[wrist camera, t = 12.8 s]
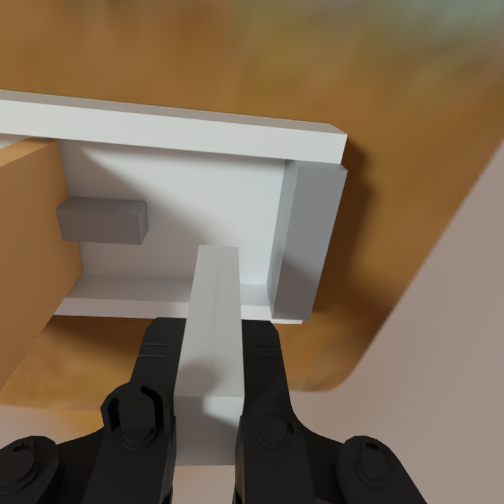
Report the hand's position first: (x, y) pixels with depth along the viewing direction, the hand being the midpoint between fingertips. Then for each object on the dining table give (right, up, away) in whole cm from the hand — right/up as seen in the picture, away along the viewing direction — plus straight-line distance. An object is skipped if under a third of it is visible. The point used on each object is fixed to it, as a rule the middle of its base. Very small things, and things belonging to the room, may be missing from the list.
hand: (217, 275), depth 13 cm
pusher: (-6, +3, +3) cm, 8 cm away
